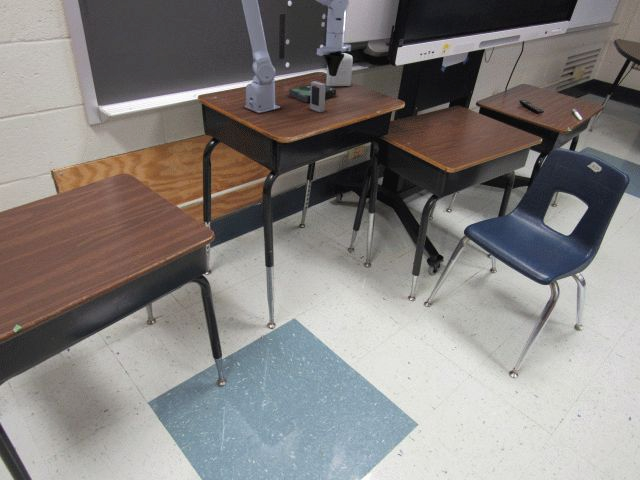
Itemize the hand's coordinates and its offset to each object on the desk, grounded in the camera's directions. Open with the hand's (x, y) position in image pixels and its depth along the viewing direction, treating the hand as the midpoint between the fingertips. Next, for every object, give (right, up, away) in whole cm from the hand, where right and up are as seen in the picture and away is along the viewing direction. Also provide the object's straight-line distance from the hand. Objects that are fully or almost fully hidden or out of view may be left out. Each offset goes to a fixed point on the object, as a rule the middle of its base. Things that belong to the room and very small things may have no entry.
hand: (332, 75), depth 154 cm
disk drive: (-7, -3, +14) cm, 16 cm away
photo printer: (+3, +6, +28) cm, 29 cm away
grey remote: (-5, -12, +1) cm, 13 cm away
